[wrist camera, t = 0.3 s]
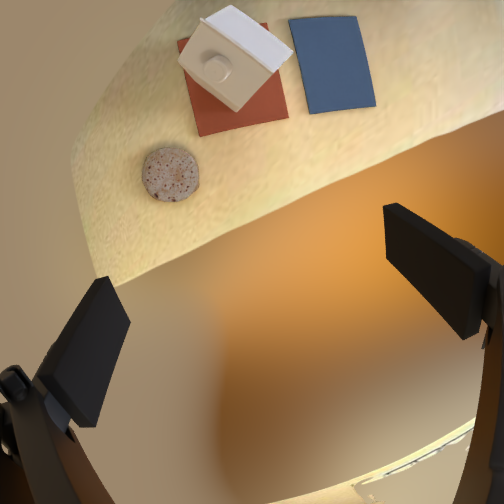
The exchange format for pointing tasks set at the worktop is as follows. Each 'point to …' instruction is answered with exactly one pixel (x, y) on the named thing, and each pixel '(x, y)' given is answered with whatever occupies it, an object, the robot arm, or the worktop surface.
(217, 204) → the worktop surface
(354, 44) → the slate-blue mat
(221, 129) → the terracotta mat
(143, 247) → the worktop surface
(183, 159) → the flatbread
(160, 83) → the worktop surface
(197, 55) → the milk carton
